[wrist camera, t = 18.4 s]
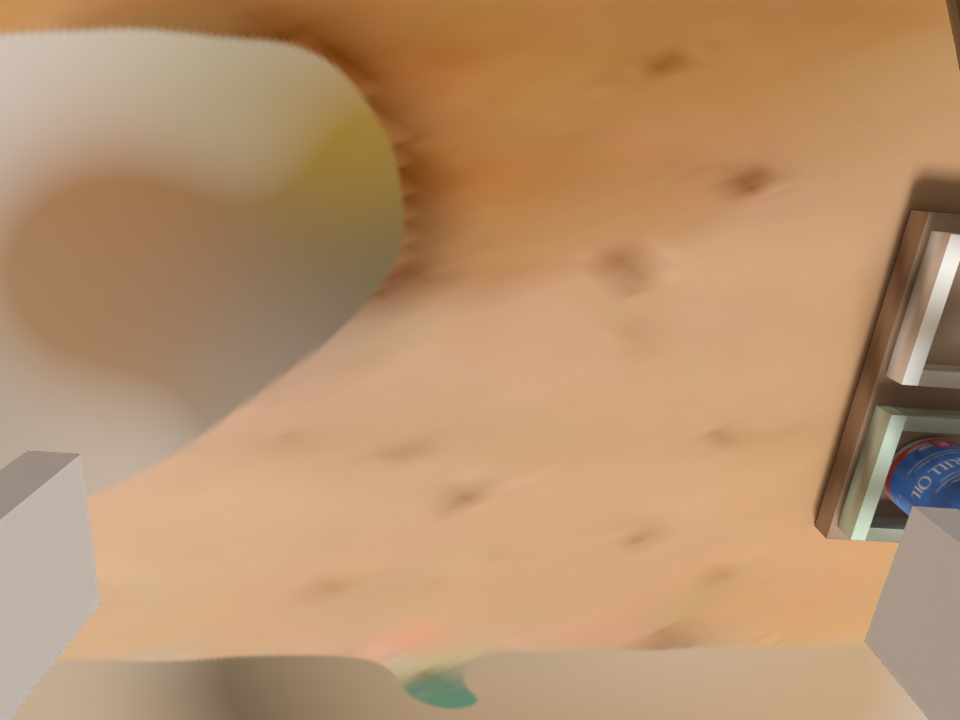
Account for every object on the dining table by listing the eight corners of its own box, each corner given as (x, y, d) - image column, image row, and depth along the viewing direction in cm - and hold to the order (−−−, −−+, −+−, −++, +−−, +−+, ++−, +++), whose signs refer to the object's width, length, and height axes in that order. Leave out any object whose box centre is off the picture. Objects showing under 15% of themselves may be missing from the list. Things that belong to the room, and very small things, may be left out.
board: (910, 210, 37) (948, 215, 34) (1068, 224, 38) (1117, 230, 35) (814, 526, 44) (839, 551, 41) (948, 534, 45) (981, 560, 42)
